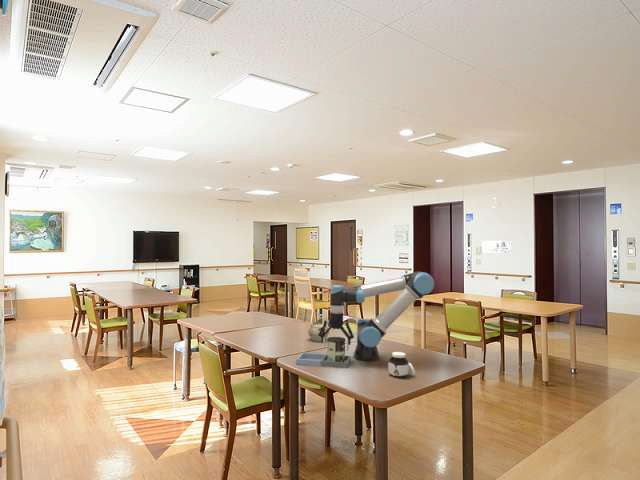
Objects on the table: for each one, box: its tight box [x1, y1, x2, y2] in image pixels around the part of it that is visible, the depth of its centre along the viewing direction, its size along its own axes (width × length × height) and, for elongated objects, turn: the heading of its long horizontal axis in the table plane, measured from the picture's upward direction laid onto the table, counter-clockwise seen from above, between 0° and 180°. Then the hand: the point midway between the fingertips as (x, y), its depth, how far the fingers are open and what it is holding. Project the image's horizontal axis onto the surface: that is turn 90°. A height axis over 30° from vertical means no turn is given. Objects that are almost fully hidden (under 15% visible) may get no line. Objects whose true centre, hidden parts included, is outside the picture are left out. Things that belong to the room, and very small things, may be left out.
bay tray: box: [295, 352, 352, 369], centre depth 238 cm, size 29×15×3 cm, turn 79°
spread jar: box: [387, 351, 416, 379], centre depth 216 cm, size 12×11×12 cm
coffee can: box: [326, 336, 346, 362], centre depth 237 cm, size 10×10×14 cm
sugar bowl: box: [307, 319, 330, 343], centre depth 293 cm, size 20×15×15 cm
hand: (335, 349), depth 237 cm, fingers open, 13 cm apart
